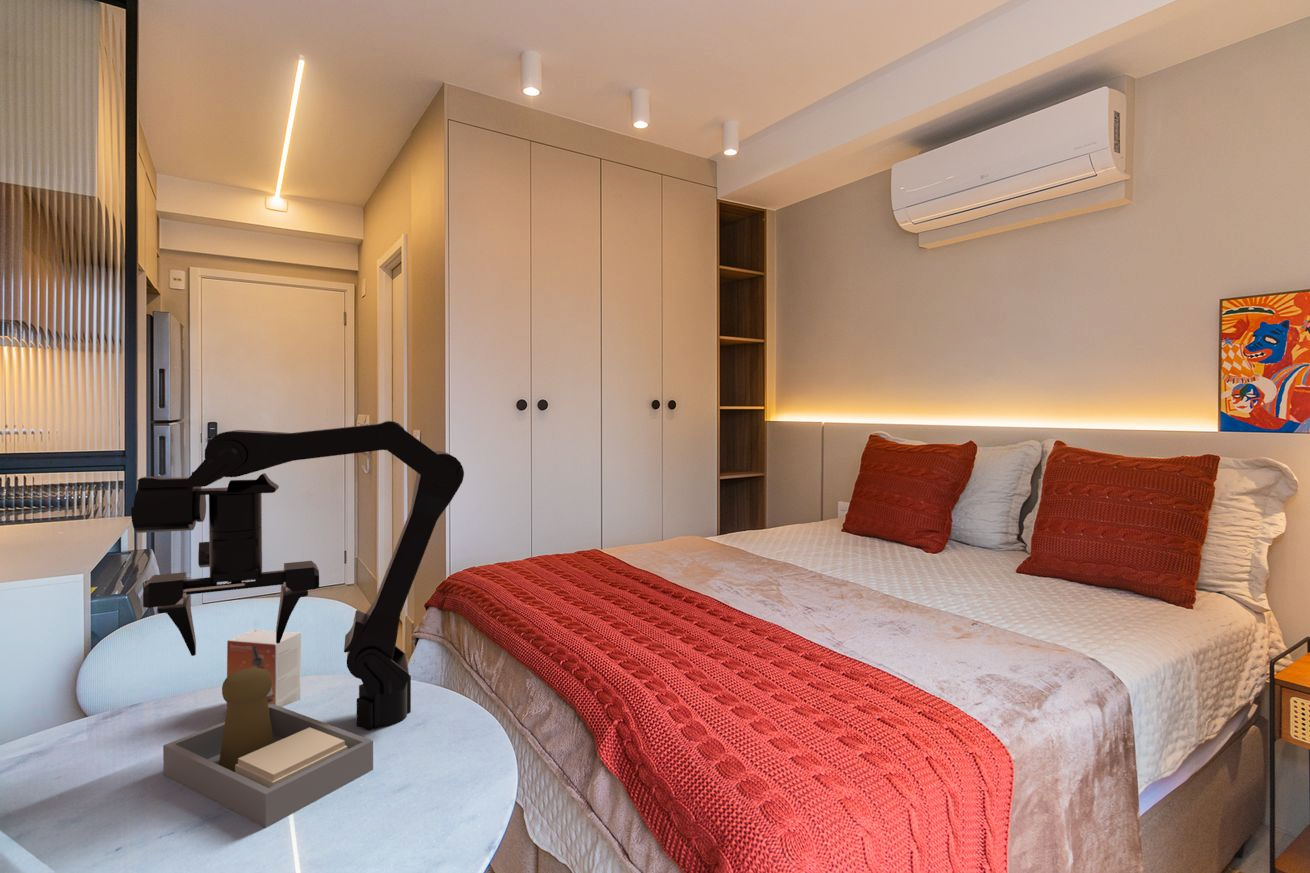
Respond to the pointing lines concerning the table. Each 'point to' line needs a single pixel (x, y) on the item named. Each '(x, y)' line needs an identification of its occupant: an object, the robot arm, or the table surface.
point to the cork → (245, 715)
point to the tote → (201, 772)
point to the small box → (269, 661)
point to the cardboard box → (289, 757)
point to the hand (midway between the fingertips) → (237, 648)
